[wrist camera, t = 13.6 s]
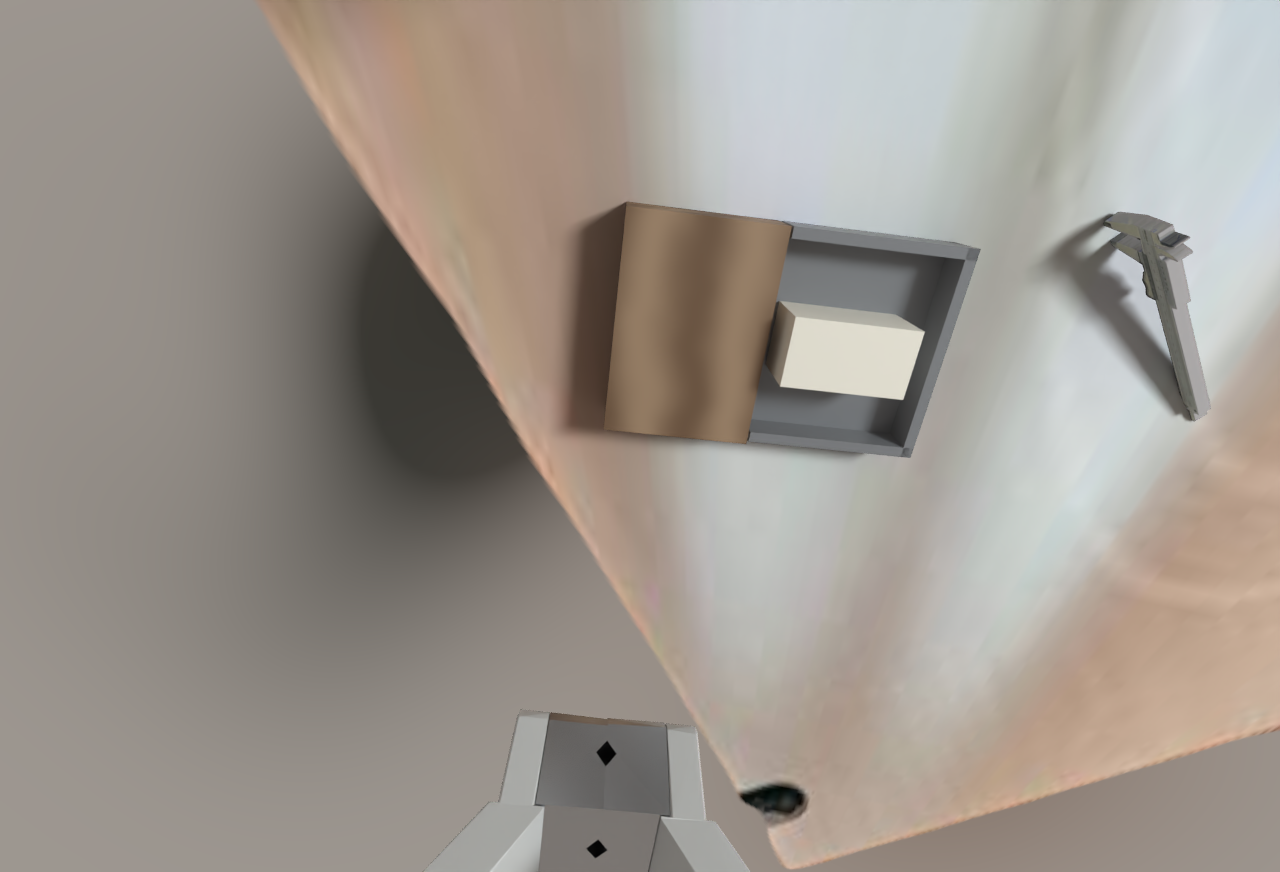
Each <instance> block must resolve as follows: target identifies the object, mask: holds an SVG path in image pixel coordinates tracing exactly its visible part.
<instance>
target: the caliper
mask: <svg viewBox="0 0 1280 872" xmlns="http://www.w3.org/2000/svg"><path fill="white" fill-rule="evenodd" d="M1104 226H1106V227H1109V228H1111V229H1114V230H1117V231H1119V232H1121V233H1120V234H1119V235H1117V236H1116V237H1114V238H1113V239H1111V240H1110V241H1111V243H1112V245H1113V246H1114V247H1116V248H1117V249H1119V250H1120V251H1122V252H1123V253H1125V254H1126V255H1128V256H1130V257H1131V258H1133V259H1134V260H1136V261H1137V262H1139V263H1141V264H1142V265H1143V268H1144V272H1143V279H1142V281H1143V283H1144V285H1145V287H1146V295H1147V296H1148V297H1149V298H1152V299H1154V300H1156V304H1157V307H1158V311H1159V315H1160V319H1161V322H1162V326H1163V330H1164V333H1165V337H1166V341H1167V345H1168V348H1169V352H1170V356H1171V360H1172V364H1173V368H1174V371H1175V375H1176V379H1177V383H1178V387H1179V391H1180V395H1181V397H1182V399H1183V402H1184V404H1185V406H1186V408H1187V409H1188V410H1189V411H1190V416H1191V419H1192V420H1193V421H1196V420H1198V419H1200V418H1201V417H1203V416H1205V415H1206V414H1207V411H1208V410H1209V409H1211V406H1210V402H1209V397H1208V393H1207V388H1206V384H1205V379H1204V375H1203V371H1202V366H1201V362H1200V358H1199V354H1198V349H1197V345H1196V341H1195V336H1194V332H1193V328H1192V324H1191V319H1190V315H1189V311H1188V306H1187V303H1188V302H1190V301H1191V299H1190V294H1189V289H1188V284H1187V280H1186V275H1185V270H1184V265H1183V261H1182V259H1183V258H1185V257H1186V256H1188V255H1189V254H1191V253H1193V251H1192V250H1191V249H1190V248H1188V247H1187V246H1186V245H1184V244H1183V243H1184V242H1185V241H1187V240H1188V239H1190V237H1189V236H1186V235H1183V234H1180V233H1177V232H1175V230H1174V226H1173V224H1170V223H1167V222H1165V221H1162V220H1159V219H1157V218H1154V217H1151V216H1149V215H1142V214H1134V213H1126V212H1117V213H1116V214H1114V215H1113V216H1112V217H1110V218H1109V219H1107V220H1106V221H1105V222H1104Z"/></svg>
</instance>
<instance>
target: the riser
mask: <svg viewBox="0 0 1280 872" xmlns="http://www.w3.org/2000/svg"><path fill="white" fill-rule="evenodd" d="M791 228H792V226H790V225H787V224H785V223H783V222H781V221H777V220H769V219H761V218H753V217H745V216H737V215H729V214H721V213H713V212H705V211H697V210H689V209H681V208H673V207H665V206H657V205H649V204H641V203H633V202H627V203H626V213H625V222H624V232H623V242H622V252H621V262H620V272H619V281H618V291H617V301H616V311H615V321H614V331H613V340H612V350H611V360H610V370H609V380H608V390H607V399H606V409H605V420H604V430H613V431H623V432H633V433H643V434H653V435H663V436H673V437H682V438H692V439H702V440H712V441H722V442H732V443H742V444H746V442H747V438H748V433H749V428H750V423H751V419H752V414H753V409H754V404H755V400H756V395H757V390H758V385H759V380H760V376H761V371H762V366H763V361H764V357H765V352H766V347H767V342H768V338H769V333H770V328H771V323H772V319H773V314H774V309H775V304H776V300H777V295H778V290H779V285H780V281H781V276H782V271H783V266H784V261H785V257H786V252H787V247H788V242H789V238H790V233H791Z"/></svg>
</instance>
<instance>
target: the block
mask: <svg viewBox="0 0 1280 872" xmlns="http://www.w3.org/2000/svg"><path fill="white" fill-rule="evenodd" d="M924 333H925V332H924V331H923V330H921V329H919V328H918V327H916V326H914V325H913V324H911V323H909V322H908V321H906V320H904V319H902V318H901V317H899V316H897V315H895V314H887V313H878V312H870V311H861V310H853V309H844V308H836V307H827V306H819V305H810V304H802V303H793V302H785V301H779V305H778V310H777V314H776V319H775V324H774V328H773V333H772V338H771V342H770V347H769V352H768V356H767V361H766V366H767V367H768V369H769V370H770V372H771V373H772V375H773V376H774V378H775V380H776V381H777V383H778V384H779V386H780V387H789V388H798V389H807V390H816V391H825V392H835V393H844V394H853V395H862V396H871V397H881V398H890V399H899V400H903V399H904V396H905V393H906V390H907V387H908V383H909V380H910V377H911V374H912V371H913V368H914V365H915V361H916V358H917V355H918V352H919V349H920V346H921V343H922V339H923V336H924Z"/></svg>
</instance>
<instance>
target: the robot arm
mask: <svg viewBox="0 0 1280 872" xmlns="http://www.w3.org/2000/svg"><path fill="white" fill-rule="evenodd" d="M423 872H750V870H749V869H748V868H747V866H746V865H745V863H744V862H743V860H742V859H741V857H740V856H739V855H738V853H737V852H736V850H735V849H734V848H733V846H732V845H731V843H730V842H729V840H728V839H727V837H726V836H725V835H724V834H723V832H722V830H721V829H720V827H719V826H718V825H717V823H716V822H715V821H709V820H706V814H705V804H704V794H703V784H702V774H701V764H700V755H699V744H698V734H697V730H696V728H695V726H688V725H677V724H667V723H666V724H664V723H662V722H649V721H636V720H624V719H611V718H608V719H601V718H593V717H585V716H576V715H568V714H560V713H552V712H551V713H550V712H541V711H531V710H522V709H521V710H520V712H519V714H518V717H517V720H516V724H515V729H514V733H513V737H512V742H511V746H510V751H509V755H508V760H507V764H506V769H505V773H504V778H503V782H502V786H501V791H500V796H499V800H498V802H488V803H487V804H486V805H485V806H484V807H483V809H481V811H480V812H479V813H478V814H477V815H476V816H475V817H474V818H473V819H472V820H471V821H470V822H469V823H468V824H467V825H466V826H465V827H464V829H463V830H462V831H461V832H460V833H459V834H458V835H457V836H456V837H455V838H454V839H453V840H452V841H451V842H450V843H449V845H447V847H446V848H445V849H444V850H443V851H442V852H441V853H440V854H439V855H438V856H437V857H436V858H435V859H434V860H433V861H432V862H431V864H430V865H429V866H428V867H427V868H426V869H425V870H424V871H423Z"/></svg>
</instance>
